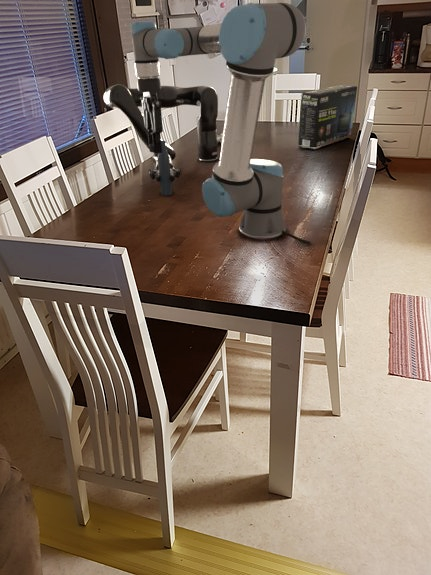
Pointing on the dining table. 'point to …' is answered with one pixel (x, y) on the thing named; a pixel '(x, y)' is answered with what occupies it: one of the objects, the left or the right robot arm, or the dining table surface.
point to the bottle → (164, 171)
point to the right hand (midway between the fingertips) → (155, 151)
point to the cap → (151, 147)
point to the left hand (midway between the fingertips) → (165, 179)
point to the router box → (326, 115)
